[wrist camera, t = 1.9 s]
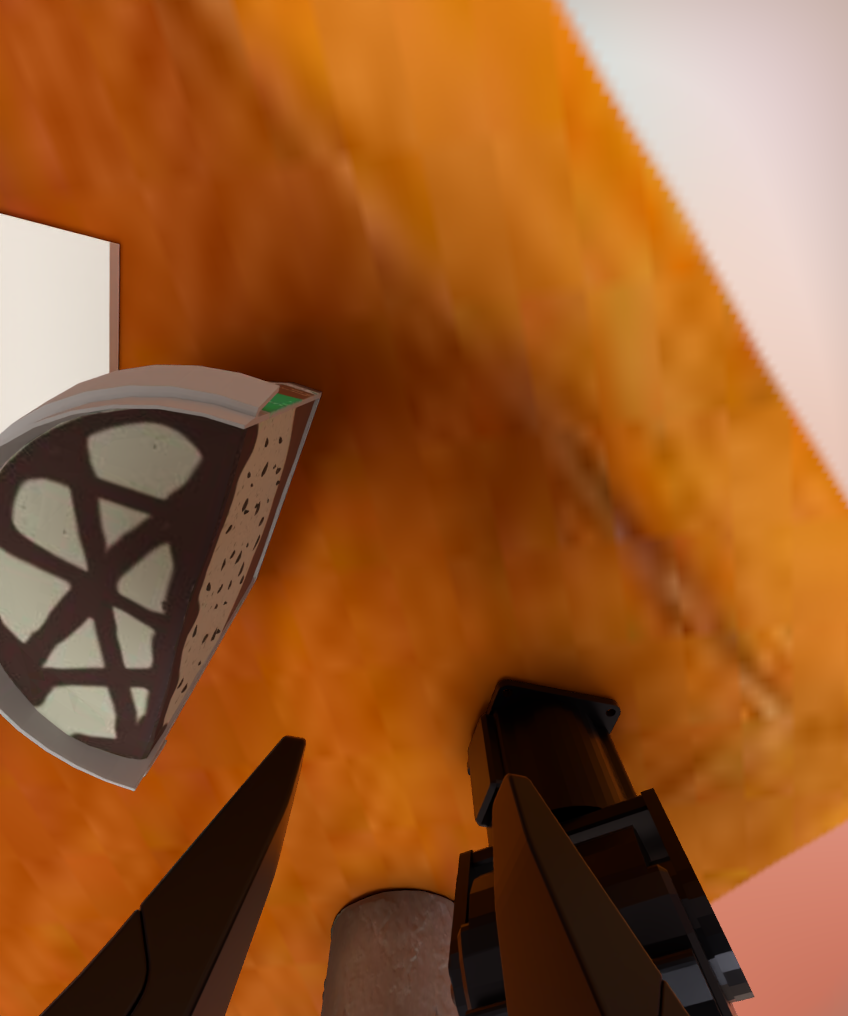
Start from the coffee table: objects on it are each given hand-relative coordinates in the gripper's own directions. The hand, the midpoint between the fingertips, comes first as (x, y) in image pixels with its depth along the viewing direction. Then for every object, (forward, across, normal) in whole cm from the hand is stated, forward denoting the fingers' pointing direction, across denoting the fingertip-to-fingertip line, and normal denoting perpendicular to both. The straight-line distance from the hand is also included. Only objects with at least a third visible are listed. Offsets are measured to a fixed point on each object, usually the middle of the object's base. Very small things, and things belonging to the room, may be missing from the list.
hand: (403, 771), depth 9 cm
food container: (+13, +8, 0) cm, 16 cm away
